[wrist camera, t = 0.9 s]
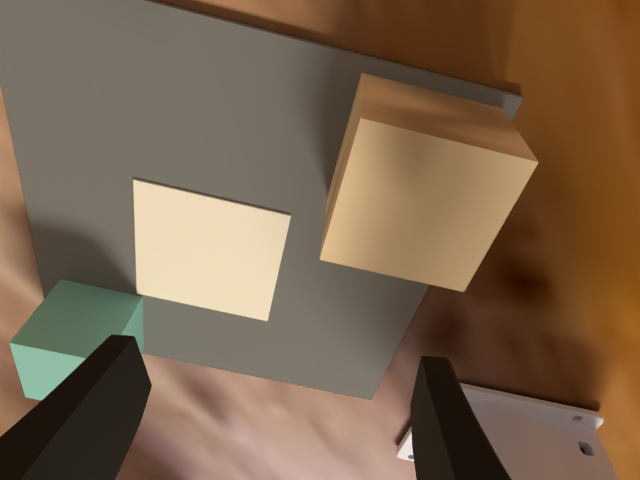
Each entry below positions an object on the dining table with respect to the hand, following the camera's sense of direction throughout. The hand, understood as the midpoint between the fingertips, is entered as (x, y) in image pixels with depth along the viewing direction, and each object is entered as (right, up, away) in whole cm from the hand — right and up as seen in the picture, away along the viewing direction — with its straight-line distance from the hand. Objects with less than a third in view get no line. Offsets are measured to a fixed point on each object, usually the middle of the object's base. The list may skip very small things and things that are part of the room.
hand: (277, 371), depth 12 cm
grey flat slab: (-3, +3, +9) cm, 10 cm away
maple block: (+4, +6, +5) cm, 9 cm away
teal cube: (-10, -1, +12) cm, 16 cm away
